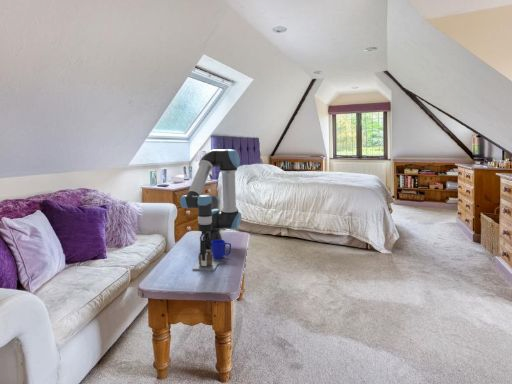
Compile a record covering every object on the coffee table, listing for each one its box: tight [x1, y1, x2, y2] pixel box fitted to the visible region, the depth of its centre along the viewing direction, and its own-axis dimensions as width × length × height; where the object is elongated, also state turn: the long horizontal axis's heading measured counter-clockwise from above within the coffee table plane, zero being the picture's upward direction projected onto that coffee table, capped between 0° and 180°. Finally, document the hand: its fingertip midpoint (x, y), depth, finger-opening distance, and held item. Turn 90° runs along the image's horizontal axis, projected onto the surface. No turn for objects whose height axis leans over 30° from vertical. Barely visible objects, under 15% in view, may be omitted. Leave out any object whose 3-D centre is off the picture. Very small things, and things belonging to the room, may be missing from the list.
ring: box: [198, 250, 213, 266], centre depth 182 cm, size 7×7×6 cm
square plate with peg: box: [192, 252, 220, 272], centre depth 182 cm, size 12×12×8 cm
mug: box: [211, 239, 232, 260], centre depth 197 cm, size 8×12×10 cm
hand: (205, 263), depth 183 cm, fingers closed on ring, 7 cm apart
